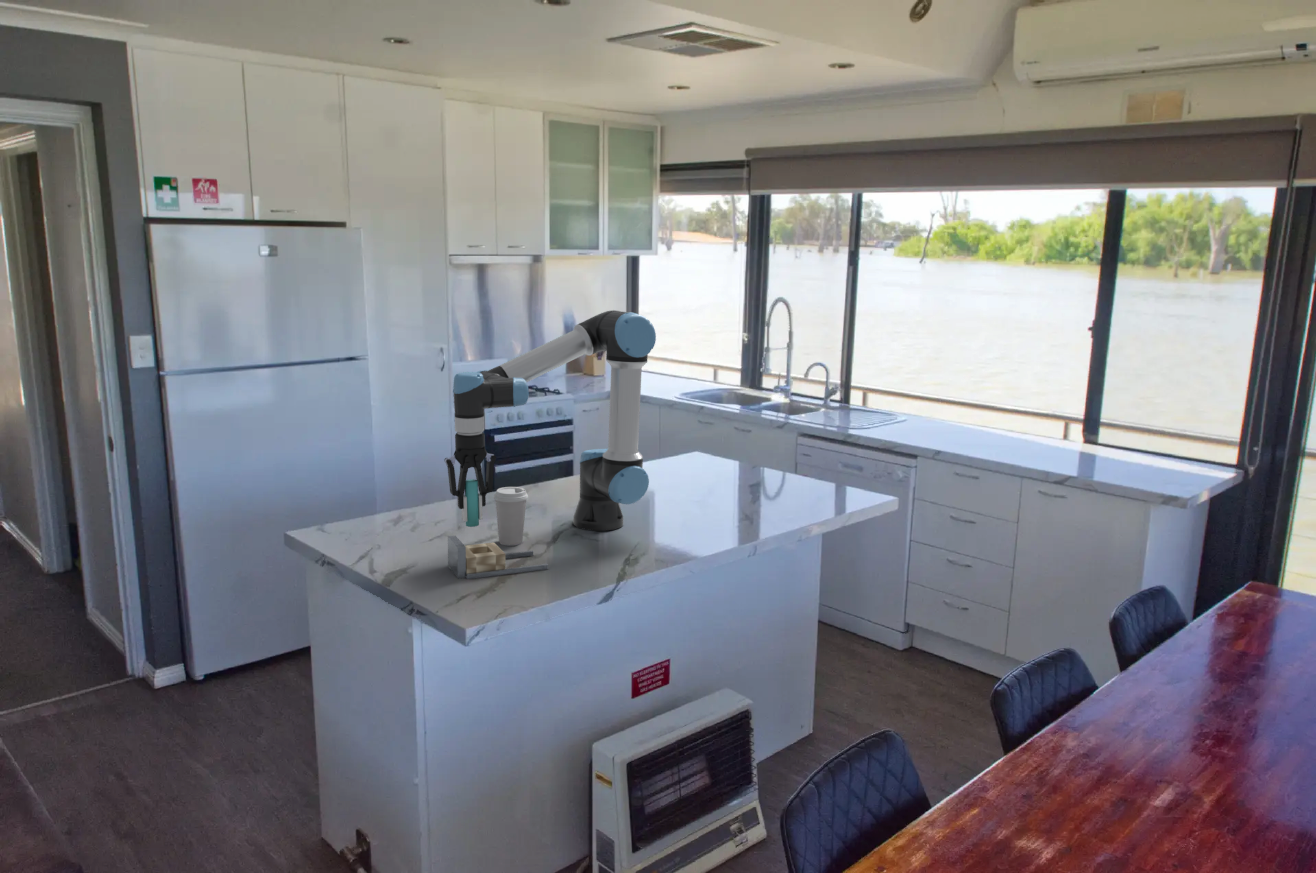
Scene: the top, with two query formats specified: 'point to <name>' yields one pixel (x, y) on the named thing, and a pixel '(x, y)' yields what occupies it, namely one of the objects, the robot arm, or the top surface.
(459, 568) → the backstop
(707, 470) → the top surface
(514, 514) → the coffee cup
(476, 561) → the block
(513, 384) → the robot arm
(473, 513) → the dowel
